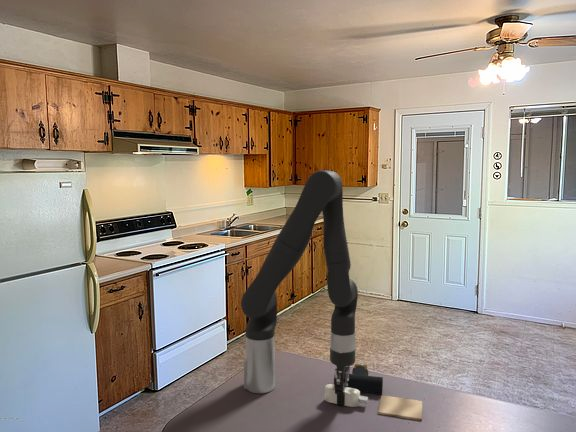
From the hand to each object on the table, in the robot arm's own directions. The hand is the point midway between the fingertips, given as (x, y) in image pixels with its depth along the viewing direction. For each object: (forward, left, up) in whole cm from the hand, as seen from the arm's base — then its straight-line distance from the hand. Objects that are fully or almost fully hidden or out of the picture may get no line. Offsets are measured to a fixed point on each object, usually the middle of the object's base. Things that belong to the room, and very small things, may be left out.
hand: (342, 401), depth 135 cm
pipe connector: (+3, +13, -1) cm, 13 cm away
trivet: (+17, +2, 0) cm, 17 cm away
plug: (+1, 0, 0) cm, 1 cm away
